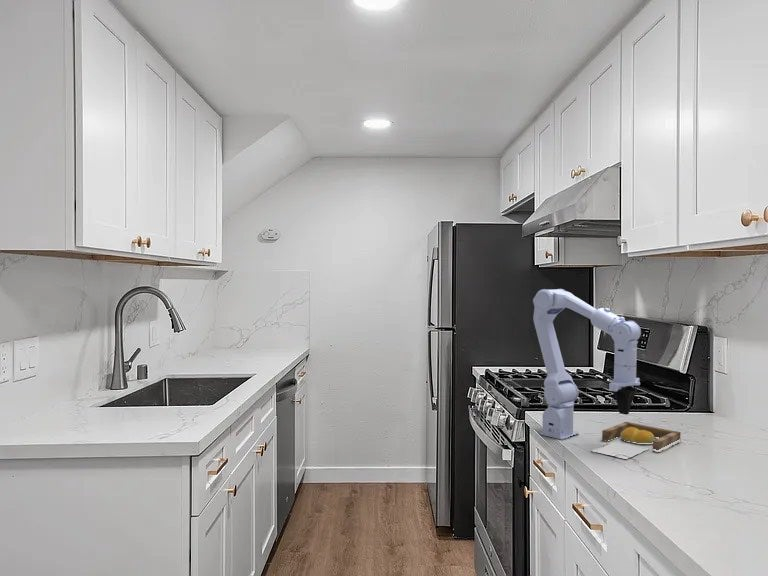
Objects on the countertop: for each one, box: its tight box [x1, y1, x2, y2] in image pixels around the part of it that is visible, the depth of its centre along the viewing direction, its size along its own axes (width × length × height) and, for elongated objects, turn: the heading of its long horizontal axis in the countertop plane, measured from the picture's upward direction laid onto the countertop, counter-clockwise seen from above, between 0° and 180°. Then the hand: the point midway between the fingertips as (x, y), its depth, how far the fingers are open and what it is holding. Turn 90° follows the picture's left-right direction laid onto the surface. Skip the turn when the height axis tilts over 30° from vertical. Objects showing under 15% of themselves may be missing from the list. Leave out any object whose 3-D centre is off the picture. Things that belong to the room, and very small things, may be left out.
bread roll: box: [619, 427, 656, 443], centre depth 178 cm, size 8×9×4 cm
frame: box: [601, 421, 681, 450], centre depth 178 cm, size 15×16×3 cm
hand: (623, 413), depth 170 cm, fingers closed
